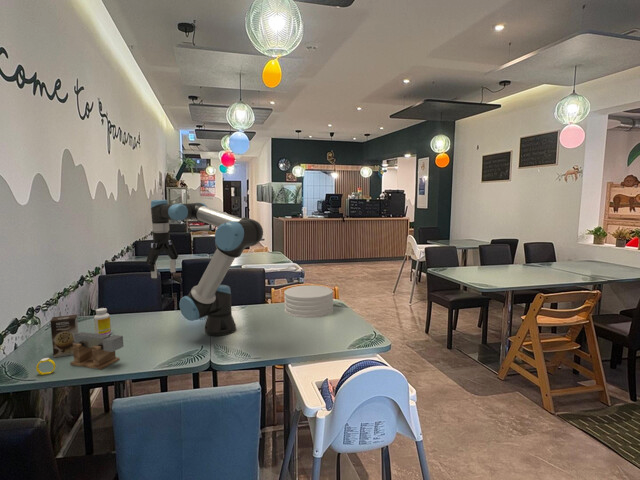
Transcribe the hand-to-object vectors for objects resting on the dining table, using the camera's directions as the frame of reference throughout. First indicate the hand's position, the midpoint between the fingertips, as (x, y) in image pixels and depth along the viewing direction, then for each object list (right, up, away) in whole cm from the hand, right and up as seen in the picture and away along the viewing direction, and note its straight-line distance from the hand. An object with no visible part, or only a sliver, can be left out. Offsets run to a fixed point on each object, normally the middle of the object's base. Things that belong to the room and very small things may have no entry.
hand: (163, 275), depth 190 cm
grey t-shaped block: (-14, -26, -33) cm, 44 cm away
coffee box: (-34, -32, -21) cm, 51 cm away
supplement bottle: (-30, -30, +1) cm, 42 cm away
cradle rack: (-16, -33, -31) cm, 48 cm away
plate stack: (+70, -24, +36) cm, 82 cm away
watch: (-29, -35, -40) cm, 60 cm away
